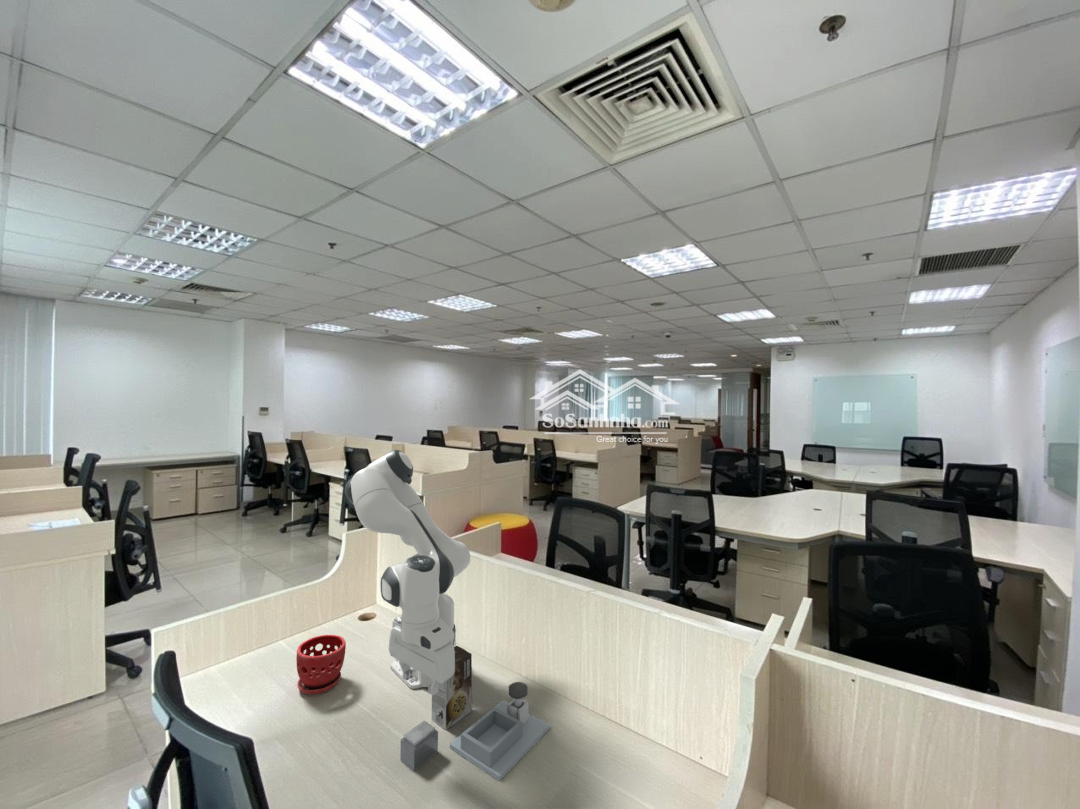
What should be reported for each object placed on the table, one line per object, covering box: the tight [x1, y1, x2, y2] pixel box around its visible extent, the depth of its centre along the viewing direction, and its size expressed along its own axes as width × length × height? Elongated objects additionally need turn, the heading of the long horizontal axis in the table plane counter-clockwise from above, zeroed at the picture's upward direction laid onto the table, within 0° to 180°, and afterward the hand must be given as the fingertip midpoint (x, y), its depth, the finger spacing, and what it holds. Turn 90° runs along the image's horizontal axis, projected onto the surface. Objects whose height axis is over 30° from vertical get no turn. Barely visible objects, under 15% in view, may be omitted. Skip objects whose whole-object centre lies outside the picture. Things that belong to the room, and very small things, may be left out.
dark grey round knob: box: [508, 681, 529, 708], centre depth 116 cm, size 5×5×5 cm
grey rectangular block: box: [400, 720, 439, 772], centre depth 105 cm, size 5×7×6 cm
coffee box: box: [431, 645, 473, 730], centre depth 119 cm, size 9×6×16 cm
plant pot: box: [295, 634, 347, 695], centre depth 132 cm, size 13×13×12 cm
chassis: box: [449, 698, 551, 782], centre depth 111 cm, size 16×20×5 cm
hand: (419, 685), depth 105 cm, fingers open, 8 cm apart
